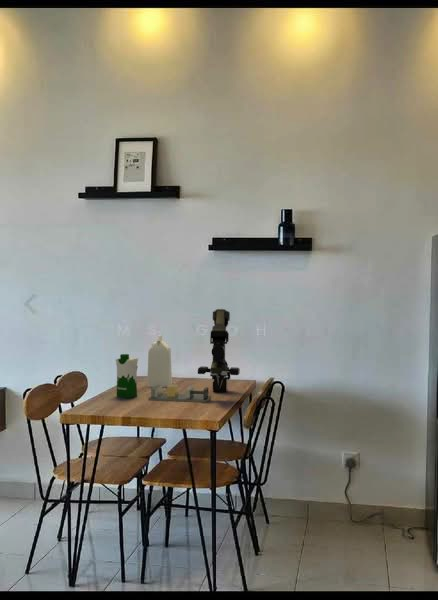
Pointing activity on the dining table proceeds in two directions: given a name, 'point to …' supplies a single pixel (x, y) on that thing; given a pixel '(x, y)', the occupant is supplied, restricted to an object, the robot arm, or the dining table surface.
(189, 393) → the jaw
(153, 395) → the vise
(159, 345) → the milk
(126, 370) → the milk carton
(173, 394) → the block
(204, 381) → the dining table surface
